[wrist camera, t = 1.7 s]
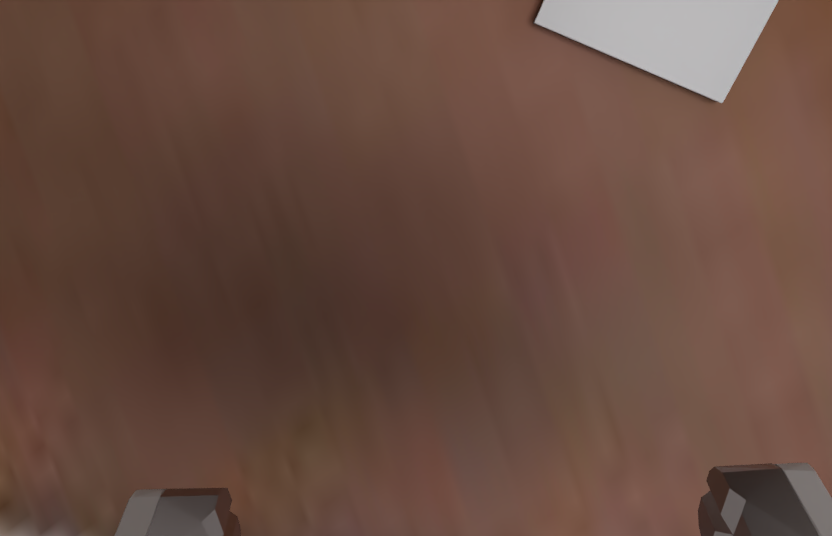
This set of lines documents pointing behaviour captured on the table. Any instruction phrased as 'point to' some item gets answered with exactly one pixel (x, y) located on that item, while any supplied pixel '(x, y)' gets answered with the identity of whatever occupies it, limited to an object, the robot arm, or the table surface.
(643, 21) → the lid
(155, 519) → the robot arm
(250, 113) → the table surface
